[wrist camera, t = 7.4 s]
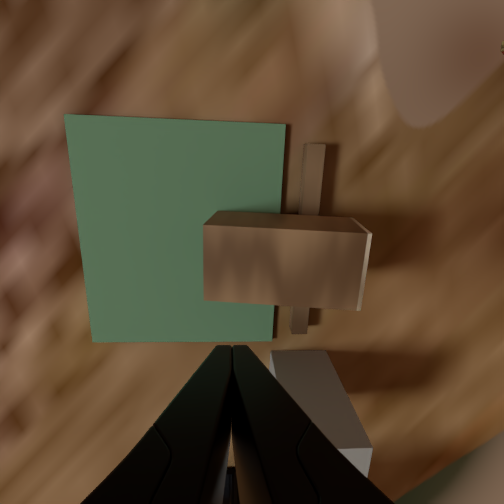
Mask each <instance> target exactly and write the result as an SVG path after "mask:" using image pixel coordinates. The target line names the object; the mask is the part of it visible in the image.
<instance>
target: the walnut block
mask: <svg viewBox="0 0 504 504" xmlns="http://www.w3.org/2000/svg"><path fill="white" fill-rule="evenodd" d="M371 239H372V233H371V232H370V231H368V230H367V229H366V228H365V227H364V226H362V225H361V224H360V223H359V222H358V221H356V220H355V219H354V218H353V217H334V216H314V215H294V214H274V213H254V212H234V211H217V212H216V213H215V214H214V215H213V216H212V217H210V218H209V219H208V220H207V221H206V222H205V223H204V224H203V293H204V301H219V302H234V303H249V304H264V305H279V306H294V307H309V308H324V309H339V310H354V311H361V305H362V298H363V292H364V285H365V278H366V272H367V265H368V259H369V252H370V246H371Z"/></svg>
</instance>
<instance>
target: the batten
mask: <svg viewBox="0 0 504 504" xmlns="http://www.w3.org/2000/svg"><path fill="white" fill-rule="evenodd" d="M325 147H326V144H304V151H303V164H302V176H301V188H300V201H299V213H298V215H314V216H319V207H320V197H321V187H322V177H323V167H324V157H325ZM308 318H309V307H294V306H291V312H290V325H289V326H290V329H291V332H292V334H307V328H308Z"/></svg>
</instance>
